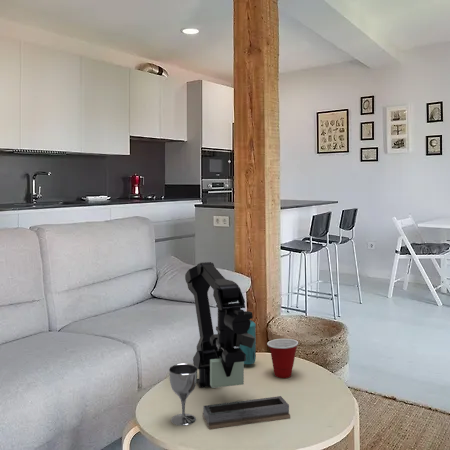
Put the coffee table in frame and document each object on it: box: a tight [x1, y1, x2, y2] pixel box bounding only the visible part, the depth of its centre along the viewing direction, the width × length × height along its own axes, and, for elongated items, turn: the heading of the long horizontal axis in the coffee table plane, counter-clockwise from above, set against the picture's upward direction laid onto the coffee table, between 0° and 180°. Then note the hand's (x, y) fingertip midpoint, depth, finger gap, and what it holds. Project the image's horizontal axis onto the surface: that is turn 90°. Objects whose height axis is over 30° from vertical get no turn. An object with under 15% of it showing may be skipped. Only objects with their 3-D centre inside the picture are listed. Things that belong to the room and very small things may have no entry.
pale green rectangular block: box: [210, 359, 245, 389], centre depth 154 cm, size 2×10×8 cm, turn 106°
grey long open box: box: [202, 395, 291, 430], centre depth 146 cm, size 8×24×4 cm, turn 106°
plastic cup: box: [266, 338, 299, 379], centre depth 176 cm, size 11×11×12 cm
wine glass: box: [168, 363, 198, 427], centre depth 144 cm, size 8×8×15 cm
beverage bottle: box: [238, 310, 257, 365], centre depth 185 cm, size 6×7×20 cm
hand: (226, 374), depth 154 cm, fingers closed on pale green rectangular block, 2 cm apart
